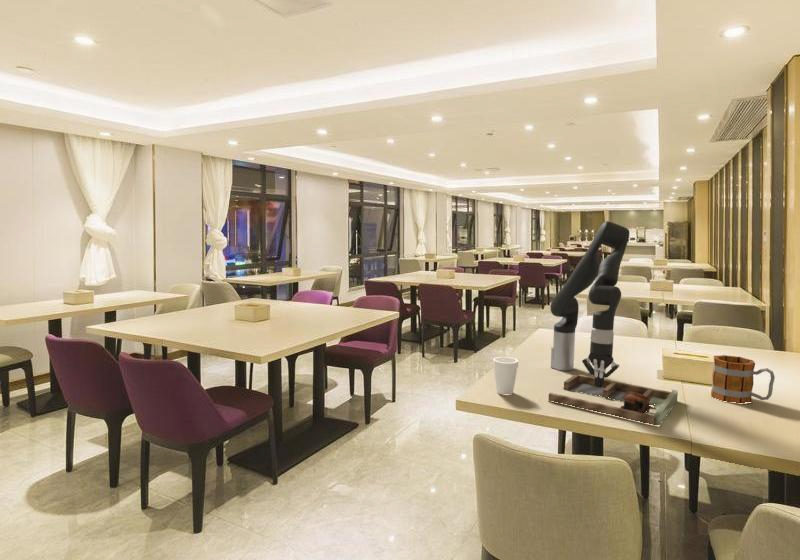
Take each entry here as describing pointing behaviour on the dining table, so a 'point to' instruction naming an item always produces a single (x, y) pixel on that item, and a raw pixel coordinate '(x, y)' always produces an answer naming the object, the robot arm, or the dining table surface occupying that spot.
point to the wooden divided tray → (617, 398)
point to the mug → (736, 379)
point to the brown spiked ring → (636, 402)
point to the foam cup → (505, 374)
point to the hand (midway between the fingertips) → (598, 386)
